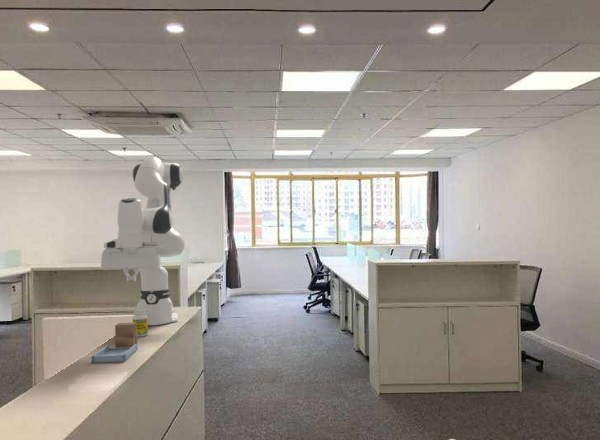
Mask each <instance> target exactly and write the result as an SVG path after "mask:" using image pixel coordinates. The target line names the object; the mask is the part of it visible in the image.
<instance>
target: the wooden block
mask: <svg viewBox="0 0 600 440" xmlns="http://www.w3.org/2000/svg"><path fill="white" fill-rule="evenodd" d="M114 330H115V332H114V334H115V336H114V338H115V344H114V345H115V347H114V348H118V347H132V346H133V345H135V344H137V345H138V339H137V338H138V337H137V322H134V323H133V322H119V323H117V324H115V325H114Z"/></svg>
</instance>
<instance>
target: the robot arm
mask: <svg viewBox="0 0 600 440" xmlns="http://www.w3.org/2000/svg"><path fill="white" fill-rule="evenodd" d="M183 178H184V171H183V168H182V166H181V165H180V164H178V163H175V162H171V163H169V162H162V160H161V159H160V158H157V157H155V156H150V157H149V156H148V157H146V158H145V159H144V160H143V161H142V162H141V163H139V164H136V165H135V166H134V167H133V170H132V179H133V182H134V186H135V188H136V190H137V192H139V193H140V194H141V195H142V196H144V197H147V201H146V207H143V202H142V200H141V198H132V197H129V198H122V199H121V200H119V203H118V208H117V226H118V230H117V231H118V232H117V238H116V239H113V240H109V241H105V242H104V243H103V248H104V250H103V251H102V253H101V259H100V266H101V268H102V269H103V270H123V274H124V275H125V277H126V282H136V281H137V276H138V274H139V273H140V282H141V283H140V284H141V290H140V293H139V295H140V300H139V302H138V303H137V304H136V310H138V309H145V315H147V320H148V326H158V325H165V324H169V323H176V322H178V321H179V316H178V315H179V314H178V313H177V312H175V310H174V307H173V302H172V300H171V298H170V288H169V273H168V270H167V269H166V268H165V267H164V266H161V258H171V257H177V256H180V255H181V254H182V253H183V251H184V249H185V243H186V242H185V239H184V237H183V236H182V234H180V233H179V232H178V231H176V229H174V227H173V223H174V222H173V220H174V219H173V215H172V210H173V209H172V208H173V196H172V191H175V190H176V189H177V188H178V187H179V186H180V185H181V184H182V183H183ZM171 190H172V191H171ZM131 269H133V272H134V274H133V275H130V274H129V272H130V270H131Z"/></svg>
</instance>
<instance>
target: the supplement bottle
mask: <svg viewBox="0 0 600 440" xmlns="http://www.w3.org/2000/svg"><path fill="white" fill-rule="evenodd" d="M133 313H134V316H133V317H132V323H134V322H137V338H139V337H145V336H147V335H148V334H149V329H148V326H149V325H148V320H147V315H145V309H138V310H137V309H135V310H134V311H133Z"/></svg>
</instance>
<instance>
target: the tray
mask: <svg viewBox="0 0 600 440" xmlns="http://www.w3.org/2000/svg"><path fill="white" fill-rule="evenodd" d="M137 351H139V348H138V343H137V344H135V345H133V346H132V347H118V348H116V347H110V344H106V345H105V346H104V347H102V348H101V349H100V350H98V351H96V352H95V353H94V354H93V355H92V356H91V364H99V363H101V364H102V363H104V364H105V363H123V362H126V361H127V360H129V359H130V357H132V356H133V355H134V354H135V353H136V352H137Z"/></svg>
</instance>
